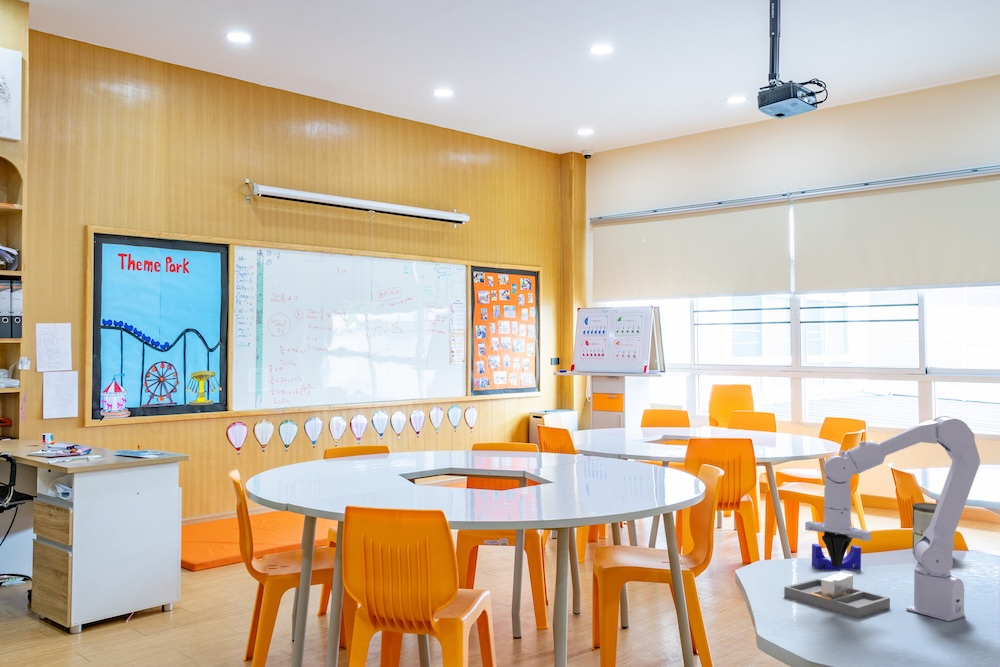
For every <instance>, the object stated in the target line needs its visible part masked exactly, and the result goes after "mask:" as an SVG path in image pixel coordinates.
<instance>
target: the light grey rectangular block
mask: <svg viewBox="0 0 1000 667" xmlns="http://www.w3.org/2000/svg"><path fill="white" fill-rule="evenodd" d="M821 580H822V582H821V595H822V596H825V597H829V598H832V599H835V598H838V597H842V596H845V595H849V594H852V593H853V588H854V574H850V573H846V572H841V571H840V572H838V573H834V574H832V575H828V576H827V577H825V578H822V579H821Z"/></svg>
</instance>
